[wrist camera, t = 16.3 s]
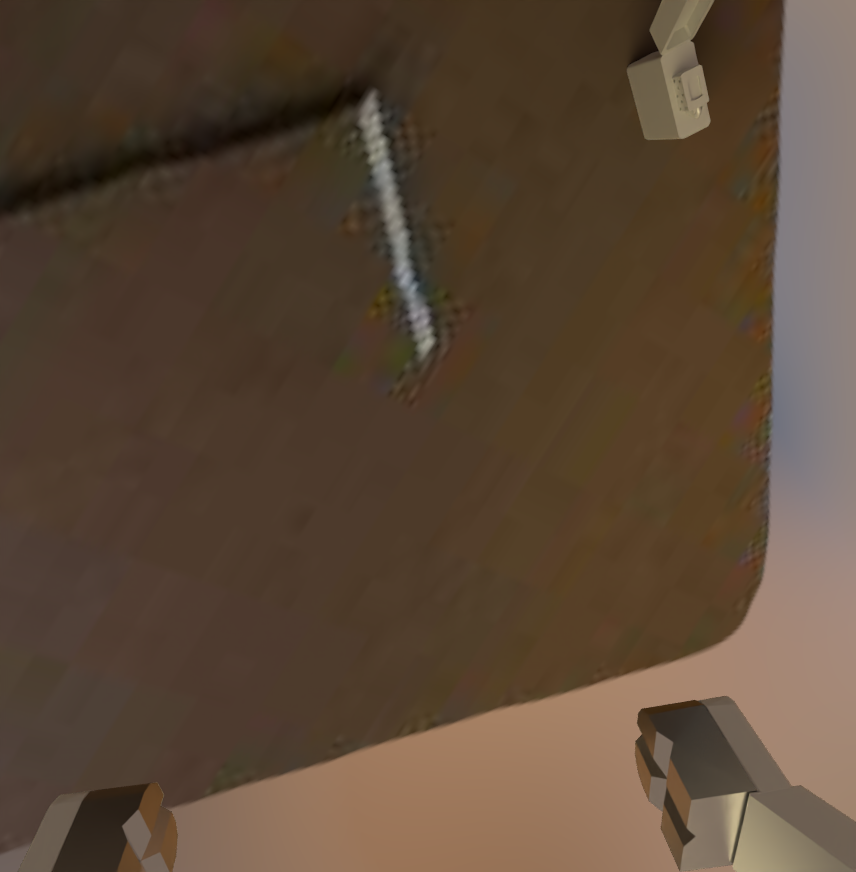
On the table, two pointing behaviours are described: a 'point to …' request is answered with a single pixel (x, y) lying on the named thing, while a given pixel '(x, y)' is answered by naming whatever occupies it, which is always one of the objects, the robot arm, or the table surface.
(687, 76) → the lighter
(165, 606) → the table surface
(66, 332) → the table surface
